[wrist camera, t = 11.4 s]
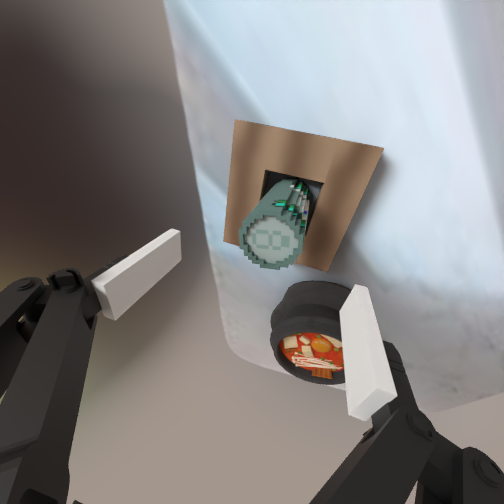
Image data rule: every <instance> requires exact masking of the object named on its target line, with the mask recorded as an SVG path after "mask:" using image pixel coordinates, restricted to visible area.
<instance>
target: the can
mask: <svg viewBox="0 0 504 504" xmlns="http://www.w3.org/2000/svg"><path fill="white" fill-rule="evenodd" d="M305 186H306V184H303V181H298V178H284V179H283V180H282V181H278V182H277V183H276V184H275V185H274V186H273V187H272V188H271V189H270V190H269V192H268V193H267V194H266V195H265V196H264V197H263V198H262V200H261V201H260V202H259V203H258V204H257V205H256V207H255V208H254V209H253V210H252V211H251V212H250V213H249V215H248V216H247V217H246V218H245V219H244V220H243V221H242V226H241V227H240V229H239V242H240V248H241V249H244V256H248V260H252V263H254V264H260V268H268V269H276V270H280V267H287V268H288V265H289V264H291V265H292V263H293V261H296V262H297V257H298V254H299V255H302V250H303V243H304V237H305V230H306V224H307V217H308V211H309V204H310V194H311V193H308V187H305Z"/></svg>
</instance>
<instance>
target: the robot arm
mask: <svg viewBox="0 0 504 504" xmlns="http://www.w3.org/2000/svg"><path fill="white" fill-rule="evenodd" d="M180 261H181V241H180V231H178V230H174V229H170V230H168V231H167V232H165V233H164V234H162V235H161V236H159V237H158V238H156V239H155V240H153V241H152V242H150V243H148V244H147V245H145V246H144V247H142V248H141V249H139V250H138V251H136V252H134V253H133V254H131V255H124V256H121V257H118V258H117V259H115V260H114V261H112V262H111V263H109V264H107V265H105V267H103V268H101V269H99V270H97V271H96V272H94V273H93V274H91V275H89V276H88V277H86V278H85V279H83V278H82V275H81V273H80V271H79V270H77V269H74V268H66V269H62V270H58V271H56V272H54V273H52V274H50V275H49V276H48V277H47V281H48V282H49V284H50V285H44V283H43V282H42V280H41V279H40V278H38V277H27V278H23V279H19V280H17V281H15V282H13V283H11V284H10V285H8V286H7V287H6V288H5V289H4V290H3V291H1V292H0V398H1V397H2V395H3V394H4V393H5V391H6V390H7V391H6V393H5V395H4V398H3V400H2V402H1V404H0V504H66V501H67V496H68V490H69V482H70V475H69V468H68V462H69V456H70V451H71V446H72V441H73V436H74V432H75V426H76V422H77V417H78V412H79V407H80V402H81V397H82V392H83V387H84V382H85V377H86V372H87V368H88V363H89V358H90V353H91V348H92V343H93V338H94V332H95V328H96V323H97V313H98V312H99V311H100V310H101V309H102V311H103V314H104V316H105V317H108V318H110V319H113V320H116V319H118V318H119V316H121V315H122V314H123V313H124V312H125V311H126V310H127V309H128V308H129V307H131V306H132V305H133V304H134V303H135V302H136V301H137V300H138V299H139V298H140V297H141V296H143V295H144V294H145V293H146V292H147V291H148V290H149V289H150V288H151V287H152V286H154V285H155V284H156V283H157V282H158V281H159V280H160V279H161V278H162V277H163V276H164V275H165V274H167V273H168V272H169V271H170V270H171V269H172V268H173V267H174V266H175V265H176V264H177V263H178V262H180ZM339 312H340V324H341V336H342V347H343V359H344V370H345V382H346V393H347V405H348V415H350V416H353V417H355V418H358V419H360V420H363V421H366V420H368V419H369V418H370V417H371V418H372V424H373V427H372V428H371V429H369V430H368V431H367V432H365V433H364V434H363V436H364V437H363V438H362V439H361V441H360V442H359V443H358V444H357V446H356V447H355V448H354V449H353V451H352V452H351V453H350V454H349V455H348V457H347V458H346V459H345V460H344V462H343V463H342V464H341V465H340V467H339V468H338V469H337V470H336V471H335V472H334V474H333V475H332V476H331V477H330V479H329V480H328V481H327V482H326V484H325V485H324V486H323V487H322V488H321V490H320V491H319V492H318V493H317V495H316V496H315V497H314V498H313V500H312V501H311V502H310V503H309V504H405V502H406V500H407V499H408V497H409V495H410V493H411V491H412V489H413V487H414V485H415V483H416V481H418V483H417V490H416V497H415V504H504V473H503V472H502V471H501V469H500V468H499V467H498V466H497V465H496V463H495V462H494V461H493V460H491V459H490V458H489V457H488V456H487V455H486V454H485V453H483V452H481V451H480V450H478V449H476V448H473V447H467V448H464V449H461V448H459V447H458V446H456V445H455V444H453V443H452V442H450V441H449V440H448V439H446V438H445V437H443V436H442V435H440V434H439V433H438V432H436V431H435V429H434V427H433V425H432V423H431V421H430V420H429V419H428V418H427V417H426V416H425V414H423V413H422V412H421V411H420V410H419V409H418V407H417V404H416V401H415V398H414V395H413V392H412V389H411V386H410V383H409V380H408V377H407V375H406V374H405V373H406V372H405V369H404V366H403V363H402V360H401V357H400V354H399V352H398V351H397V350H396V348H395V347H394V345H393V344H392V343H389V342H386V341H383V340H382V338H381V335H380V331H379V327H378V324H377V320H376V317H375V313H374V309H373V306H372V302H371V299H370V295H369V291H368V288H367V287H364V286H360V285H357V284H355V286H354V288H353V289H352V291H351V293H350V294H349V296H348V298H347V299H346V301H345V303H344V305H343V306H342V308H341V310H340V311H339ZM22 316H23V317H24V318H23V319H22V320H21V321H20V322H18V320H19V319H20V318H21V317H22ZM7 388H8V389H7ZM73 504H82V503H80V502H78V501H76V500H75V501H74V502H73Z"/></svg>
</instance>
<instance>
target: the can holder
mask: <svg viewBox="0 0 504 504" xmlns="http://www.w3.org/2000/svg"><path fill="white" fill-rule="evenodd" d="M383 150H384V148H381V147H377V146H372V145H367V144H362V143H357V142H351V141H346V140H341V139H336V138H331V137H325V136H320V135H315V134H310V133H305V132H299V131H294V130H289V129H284V128H279V127H273V126H268V125H263V124H258V123H253V122H247V121H242V120H235V123H234V134H233V144H232V155H231V166H230V176H229V187H228V197H227V208H226V219H225V229H224V240H223V241H224V242H227V243H230V244H234V245H237V246H240V242H239V229H240V227H241V226H242V221H243V220H244V219H245V218H246V217H247V216H248V215H249V213H250V212H251V211H252V210H253V209H254V208H255V207H256V205H257V204H258V203H259V202H260V201H261V200H262V198H263V197H264V194H265V189H266V183H267V178H268V173H269V170H270V171H274V172H278V173H283V174H287V175H292V176H296V177H300V178H305V179H309V180H314V181H318V182H322V186H321V189H320V192H319V195H318V198H317V201H316V204H315V207H314V209H313V212H312V215H311V218H310V221H309V224H308V227H307V229H306V230H305V237H304V243H303V250H302V255H299V254H298V257H297V262H296V261H293V262H295V263H298V264H302V265H305V266H309V267H312V268H316V269H319V270H322V271H326V272H328V269H329V267H330V265H331V263H332V261H333V259H334V256H335V254H336V252H337V250H338V248H339V246H340V243H341V241H342V239H343V237H344V235H345V233H346V230H347V228H348V226H349V224H350V222H351V220H352V217H353V215H354V213H355V211H356V209H357V206H358V204H359V202H360V200H361V198H362V196H363V193H364V191H365V189H366V187H367V185H368V183H369V180H370V178H371V176H372V174H373V172H374V170H375V167H376V165H377V163H378V161H379V159H380V156H381V154H382V152H383Z"/></svg>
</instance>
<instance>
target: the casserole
mask: <svg viewBox="0 0 504 504" xmlns="http://www.w3.org/2000/svg"><path fill="white" fill-rule="evenodd" d="M350 293H351V291H350V290H348V289H347V288H345V287H343V286H340V285H337V284H334V283H330V282H325V281H303V282H299V283H295V284H293V285H292V286H291V287H289V288H288V290H287V292H286V294H285V296H284V298H283V300H282V301H281V302H280V304H279V305H278V306H277V307H276V308H275V310H274V311H273V313H272V316H271V328H272V330H273V331H272V333H271V337H270V342H271V346H272V349H273V351H274V356H275V358H276V360H277V361H278V363H279V364H280V365H281V366H282V367H283V368H284V369H285V370H286V371H288V372H289V373H290V374H292V375H294V376H296V377H298V378H300V379H303V380H305V381H308V382H312V383H317V384H325V385H335V384H341V383H345V370H344V359H343V347H342V336H341V324H340V312H339V311H340V310H341V308H342V306H343V305H344V303H345V301H346V299H347V298H348V296H349V294H350Z"/></svg>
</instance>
